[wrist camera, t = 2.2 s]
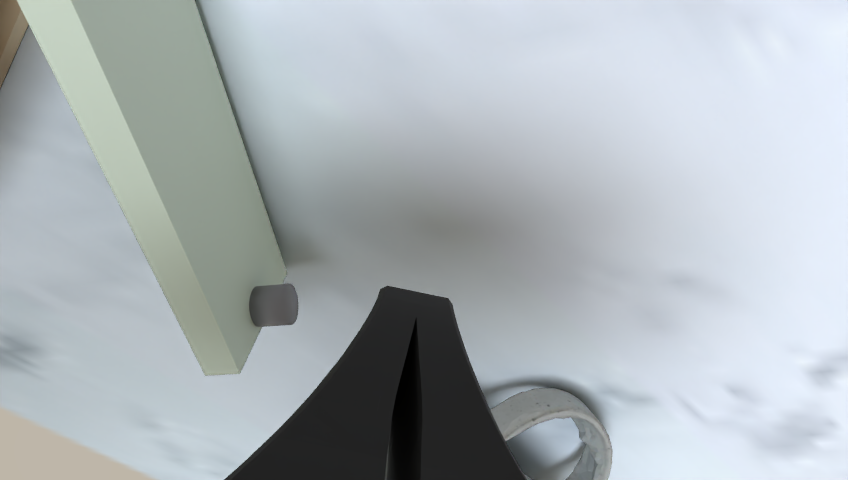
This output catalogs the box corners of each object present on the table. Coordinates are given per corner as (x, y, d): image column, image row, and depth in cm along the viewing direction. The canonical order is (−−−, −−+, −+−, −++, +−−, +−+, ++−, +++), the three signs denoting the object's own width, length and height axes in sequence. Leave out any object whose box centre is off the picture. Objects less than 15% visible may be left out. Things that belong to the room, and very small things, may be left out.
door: (315, 270, 18) (275, 371, 14) (259, 275, 18) (205, 375, 15) (207, -85, 13) (94, -78, 9) (130, -71, 13) (-13, -59, 9)
